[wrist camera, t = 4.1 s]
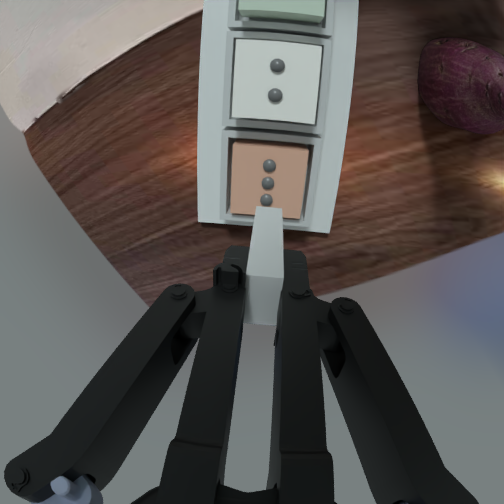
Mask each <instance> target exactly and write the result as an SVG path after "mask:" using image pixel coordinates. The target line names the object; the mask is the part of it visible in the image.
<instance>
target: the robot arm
mask: <svg viewBox="0 0 504 504" xmlns="http://www.w3.org/2000/svg"><path fill="white" fill-rule="evenodd" d="M243 323H249V324H260V325H271V326H276V324H277V328H276V334H275V340H274V346H275V360H274V385H273V408H272V427H271V445H270V446H271V447H270V462H269V474H268V480H267V487H266V490H262V491H256V492H249V493H247V492H242V491H239V490H236V489H233V488H230V487H227V486H224V473H225V464H226V456H227V449H228V441H229V433H230V426H231V418H232V410H233V402H234V395H235V387H236V379H237V372H238V364H239V356H240V348H241V340H242V332H243ZM198 338H200V339H199V343H198V347H197V350H196V355H195V359H194V362H193V366H192V370H191V375H190V378H189V383H188V386H187V391H186V395H185V399H184V403H183V407H182V412H181V416H180V420H179V424H178V428H177V433H176V436H175V438H174V439H173V440H172V441H171V442H170V444H169V448H168V451H167V455H166V459H165V463H164V468H163V472H162V477H161V481H160V486H158V487H155V488H153V489H151V490H149V491H148V492H146V493H145V494H144V495H142V496H141V497H139V498H138V499H136V500H135V501H134V502H132V503H131V504H337V503H336V502H334V473H333V460H332V456H331V454H330V453H329V452H328V450H327V446H326V427H325V410H324V397H323V383H322V370H321V360H320V357H321V359H322V362H323V364H324V367H325V369H326V372H327V374H328V377H329V380H330V382H331V385H332V387H333V390H334V392H335V395H336V398H337V400H338V403H339V406H340V408H341V411H342V413H343V416H344V419H345V421H346V424H347V427H348V429H349V432H350V435H351V437H352V440H353V443H354V445H355V448H356V451H357V454H358V456H359V459H360V462H361V464H362V467H363V470H364V473H365V475H366V478H367V481H368V484H369V487H370V489H371V492H372V494H373V497H374V499H375V501H376V503H377V504H479V503H478V502H477V500H476V499H475V498H474V496H473V495H472V494H471V493H470V492H469V491H468V490H467V489H465V487H464V486H463V485H462V484H461V483H460V482H459V481H458V480H457V479H456V478H455V477H454V476H453V475H452V474H451V473H450V472H449V471H448V470H447V469H446V468H445V467H444V464H443V462H442V460H441V458H440V456H439V453H438V451H437V449H436V447H435V445H434V443H433V440H432V438H431V436H430V434H429V432H428V430H427V428H426V426H425V424H424V422H423V420H422V418H421V416H420V414H419V412H418V410H417V408H416V406H415V404H414V402H413V400H412V398H411V396H410V395H409V393H408V390H407V389H406V387H405V385H404V383H403V381H402V380H401V377H400V376H399V374H398V372H397V370H396V368H395V366H394V364H393V363H392V361H391V359H390V357H389V356H388V354H387V352H386V350H385V348H384V346H383V345H382V343H381V341H380V339H379V338H378V336H377V334H376V332H375V331H374V329H373V327H372V325H371V324H370V322H369V320H368V319H367V317H366V315H365V314H364V312H363V310H362V309H361V307H360V305H359V304H358V303H357V302H355V301H354V300H352V299H349V298H344V297H340V298H336V299H334V300H333V301H332V303H328V302H325V301H322V300H320V299H318V298H317V297H315V296H314V294H313V292H312V290H311V289H310V287H309V279H308V270H307V262H306V257H305V255H304V254H303V253H302V252H301V251H296V250H285V249H283V218H282V208H273V207H261V206H256V211H255V218H254V224H253V231H252V237H251V244H250V247H244V246H233V245H231V246H230V247H229V248H228V249H227V250H226V252H225V255H224V259H223V263H220V264H218V265H217V266H215V268H214V269H213V287H212V288H210V289H208V290H204V291H197V292H194V289H193V288H192V287H191V286H189V285H187V284H174V285H171V286H169V287H168V288H166V289H165V290H164V291H163V292H162V294H161V295H160V296H159V297H158V298H157V300H156V301H155V302H154V303H153V304H152V306H151V307H150V308H149V309H148V310H147V312H146V313H145V314H144V315H143V316H142V318H141V319H140V320H139V321H138V322H137V324H136V325H135V326H134V327H133V329H132V330H131V331H130V332H129V333H128V335H127V336H126V338H124V340H123V341H122V342H121V343H120V345H119V346H118V347H117V348H116V350H115V351H114V352H113V353H112V355H111V356H110V357H109V358H108V360H107V361H106V362H105V363H104V365H103V366H102V367H101V369H100V370H99V371H98V372H97V374H96V375H95V376H94V378H93V379H92V380H91V381H90V383H89V384H88V385H87V386H86V388H85V389H84V390H83V392H82V393H81V394H80V396H79V397H78V398H77V399H76V401H75V402H74V404H73V405H72V406H71V408H70V409H69V410H68V412H67V413H66V414H65V415H64V417H63V418H62V419H61V421H60V422H59V424H58V425H57V426H56V428H55V429H54V430H53V432H52V433H51V434H50V435H49V436H47V437H46V438H44V439H43V440H41V441H40V442H38V443H37V444H35V445H34V446H32V447H31V448H29V449H28V450H26V451H25V452H23V453H22V454H20V455H19V456H17V457H15V458H14V459H12V460H11V461H10V462H9V463H8V464H7V466H6V468H5V471H4V479H5V482H6V485H7V486H8V488H9V489H10V490H11V492H13V493H14V494H16V495H18V496H19V497H21V498H24V499H25V500H28V501H29V502H31V503H32V504H103V497H102V494H101V492H100V491H101V490H102V489H103V488H104V487H105V486H106V485H107V484H108V483H109V482H110V481H111V480H112V478H113V477H114V476H115V474H116V473H117V471H118V470H119V468H120V467H121V465H122V463H123V462H124V460H125V458H126V457H127V455H128V454H129V452H130V450H131V449H132V447H133V445H134V444H135V442H136V441H137V439H138V437H139V436H140V434H141V432H142V431H143V429H144V427H145V426H146V424H147V422H148V421H149V419H150V418H151V416H152V414H153V413H154V411H155V409H156V408H157V406H158V404H159V403H160V401H161V400H162V398H163V396H164V394H165V393H166V391H167V390H168V388H169V386H170V385H171V383H172V382H173V380H174V378H175V377H176V375H177V373H178V372H179V370H180V368H181V367H182V365H183V363H184V362H185V360H186V359H187V357H188V355H189V354H190V352H191V350H192V349H193V347H194V346H195V344H196V342H197V340H198Z"/></svg>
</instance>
